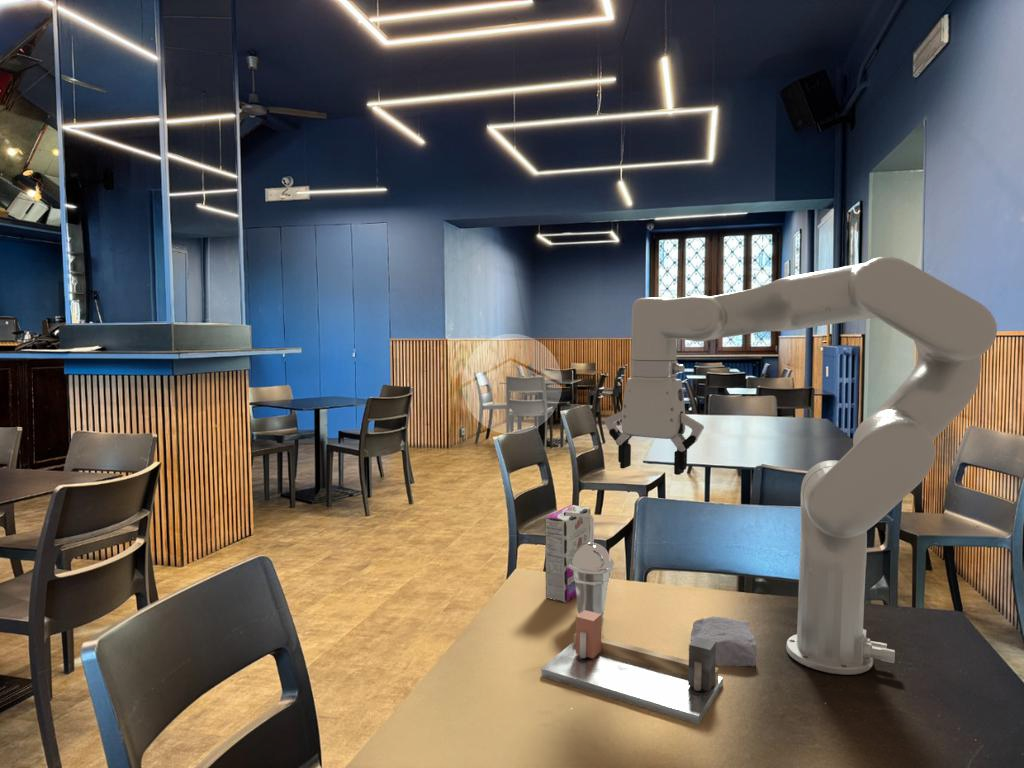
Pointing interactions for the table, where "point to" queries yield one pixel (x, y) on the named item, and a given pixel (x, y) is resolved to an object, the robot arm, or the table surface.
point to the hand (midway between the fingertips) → (651, 470)
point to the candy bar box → (563, 550)
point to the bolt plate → (633, 683)
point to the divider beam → (673, 660)
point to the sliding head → (588, 634)
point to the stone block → (728, 640)
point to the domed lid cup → (590, 572)
